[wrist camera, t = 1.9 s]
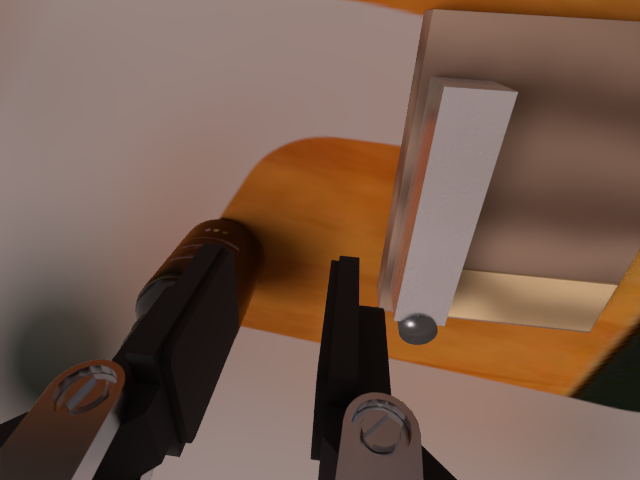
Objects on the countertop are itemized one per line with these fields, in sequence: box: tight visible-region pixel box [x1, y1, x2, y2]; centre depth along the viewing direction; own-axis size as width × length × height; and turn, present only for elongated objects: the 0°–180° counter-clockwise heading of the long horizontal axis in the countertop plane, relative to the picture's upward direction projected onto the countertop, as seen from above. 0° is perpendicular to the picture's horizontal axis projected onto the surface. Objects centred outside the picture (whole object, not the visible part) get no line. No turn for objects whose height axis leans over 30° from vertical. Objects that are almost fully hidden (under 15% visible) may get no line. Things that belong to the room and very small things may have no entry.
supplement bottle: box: [121, 220, 264, 347], centre depth 26 cm, size 7×7×12 cm
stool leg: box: [390, 77, 518, 345], centre depth 22 cm, size 16×3×4 cm, turn 177°
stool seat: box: [377, 9, 640, 333], centre depth 24 cm, size 20×16×3 cm
